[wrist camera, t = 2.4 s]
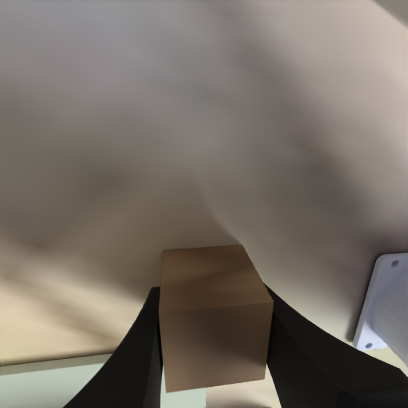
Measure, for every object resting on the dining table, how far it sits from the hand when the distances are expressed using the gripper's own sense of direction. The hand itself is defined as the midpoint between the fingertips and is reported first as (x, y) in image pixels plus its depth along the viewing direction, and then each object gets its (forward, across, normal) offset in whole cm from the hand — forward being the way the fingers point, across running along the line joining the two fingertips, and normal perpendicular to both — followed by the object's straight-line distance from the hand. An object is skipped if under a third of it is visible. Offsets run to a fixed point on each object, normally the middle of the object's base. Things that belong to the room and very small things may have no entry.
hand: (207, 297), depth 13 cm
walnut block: (+1, 0, 0) cm, 1 cm away
